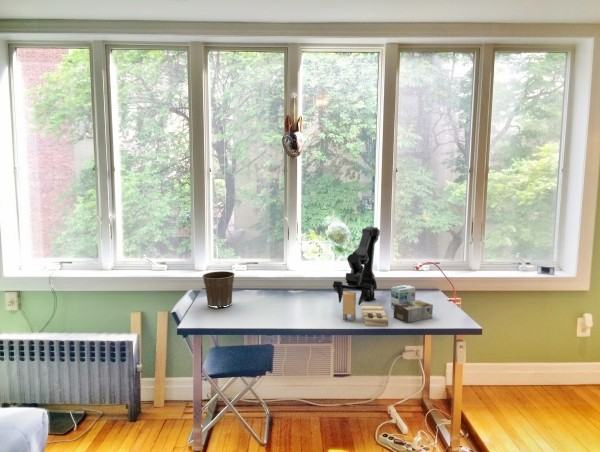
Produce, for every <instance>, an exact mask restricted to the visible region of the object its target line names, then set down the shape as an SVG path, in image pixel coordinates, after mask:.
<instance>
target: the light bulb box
mask: <svg viewBox="0 0 600 452" xmlns="http://www.w3.org/2000/svg"><path fill="white" fill-rule="evenodd" d="M390 288H391V290H390V291H391V292H390V308H391V309H393V310H394V305H395V304H400V303H405V302H410V301H415V300H416V291H417V290H416V287H415V286H411V285H409V284H404V285H403V284H402V285H397V286H391V287H390Z"/></svg>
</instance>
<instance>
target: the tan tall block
mask: <svg viewBox="0 0 600 452" xmlns="http://www.w3.org/2000/svg"><path fill="white" fill-rule="evenodd" d="M356 298H357V292H353V291H352V292H351V291H344V292H343V295H342V321H346V320H347V319H348V315H350V322H355V320H357V319H356V316H357V313H356V311H357V307H356V305H357V299H356Z"/></svg>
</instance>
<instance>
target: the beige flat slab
mask: <svg viewBox="0 0 600 452" xmlns="http://www.w3.org/2000/svg"><path fill="white" fill-rule="evenodd" d="M360 312H361V315H362V316H361V317H362V320H363V322H364V326H367V327H369V326H371V327H372V326H374V327H375V326H378V327H380V326H381V327H388V326H389V320H388V317H387V315H386V312H385V310H384V308H383V306H382V304H360Z"/></svg>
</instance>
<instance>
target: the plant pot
mask: <svg viewBox="0 0 600 452" xmlns="http://www.w3.org/2000/svg"><path fill="white" fill-rule="evenodd" d="M235 275H236V274H235V272H233V271H225V270H223V271H211V272H207V273H204V274H202V278H203V283H204V286H205V293H206V294H205V295H206V299H207V300H206V301H207V306H208V305H210V306H217V307H220V306H227V305H230V304H231V303H232V304H233V287H234V279H235ZM230 306H231V305H230ZM220 308H221V307H220Z"/></svg>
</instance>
